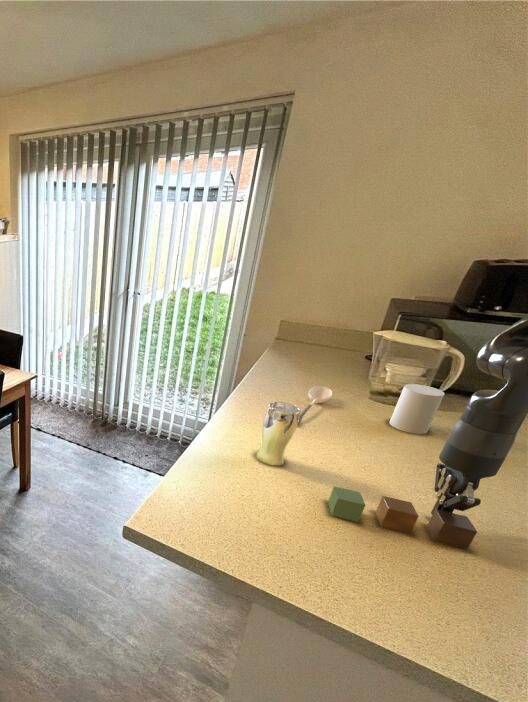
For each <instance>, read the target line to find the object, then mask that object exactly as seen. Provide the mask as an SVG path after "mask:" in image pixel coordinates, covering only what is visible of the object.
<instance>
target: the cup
mask: <svg viewBox="0 0 528 702" xmlns="http://www.w3.org/2000/svg"><path fill="white" fill-rule="evenodd" d="M444 396H445V392H444V391H443V390H440V389H438V388H436V387H432V386H430V385H429V386H428V385H424V384H418V383H406V384H404V386H403V388H402V391H401V394H400V396H399V398H398V400H397V402H396V405H395V408H394V409H393V412H392V414H391V417H390V420H389V425H390V426H392V427H393V428H394V429H397V430H400V431H402V432H406V433H409V434H415V435H416V434H417V435H423V434H427V433H428V431H429V429H430V427H431V424H432V423H433V421H434V418H435V416H436V414H437V412H438V409H439V408H440V405H441V403H442V400H443V399H444Z"/></svg>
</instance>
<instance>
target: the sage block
mask: <svg viewBox="0 0 528 702" xmlns="http://www.w3.org/2000/svg"><path fill="white" fill-rule="evenodd" d="M327 504H328V508H329V511H330V516H332V517H335V518H340V519H345V520H348V521H352V522H356V523H359V521H360V519H361V517H362V514H363V513H364V510H365V507H366V503H365V501H364V497H363V496H362V494H361V492H360V491H356V490H352V489H348V488H344V487H340V486H334V485H333V488H332V490H331V493H330V496H329V498H328V501H327Z"/></svg>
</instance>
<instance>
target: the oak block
mask: <svg viewBox="0 0 528 702" xmlns="http://www.w3.org/2000/svg"><path fill="white" fill-rule="evenodd" d="M375 515H376V517H377V520H378V522H379V525H380V527H383V528H385V529H386V528H387V529H391V530H395V531H398V532H402V533H406V534H411V533H412V531H413V529H414V528H415V525H416V523H417V521H418V519H419V514H418V512H417V510H416V508H415V506H414V505H413V502H411V501H408V500H403V499H399V498H395V497H391V496H386V495H382V497H381V499H380V501H379V503H378V506H377V508H376V510H375Z"/></svg>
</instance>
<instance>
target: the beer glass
mask: <svg viewBox="0 0 528 702" xmlns="http://www.w3.org/2000/svg"><path fill="white" fill-rule="evenodd" d="M300 414H301V409H300V407H298V406H297V405H295V404H292V403H289V402H285V401H271V402H269V403H268V406H267V409H266V411H265V414H264V418H263V422H262V433H261V443H260V447H259V448H258V451H257V452H256V458H257V459H258V460H259V461H260V462H262V463H264V464H267V465H270V466H281V465H283V464H284V463H285V455H286V454H285V453H286V450H287V447H288V445H289V444H290V442H291V440H292V438H293V437H294V435H295V434H296V433H295V432H296V430H297V428H298V425H299V424H298V421H299V415H300ZM297 424H298V425H297Z"/></svg>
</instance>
